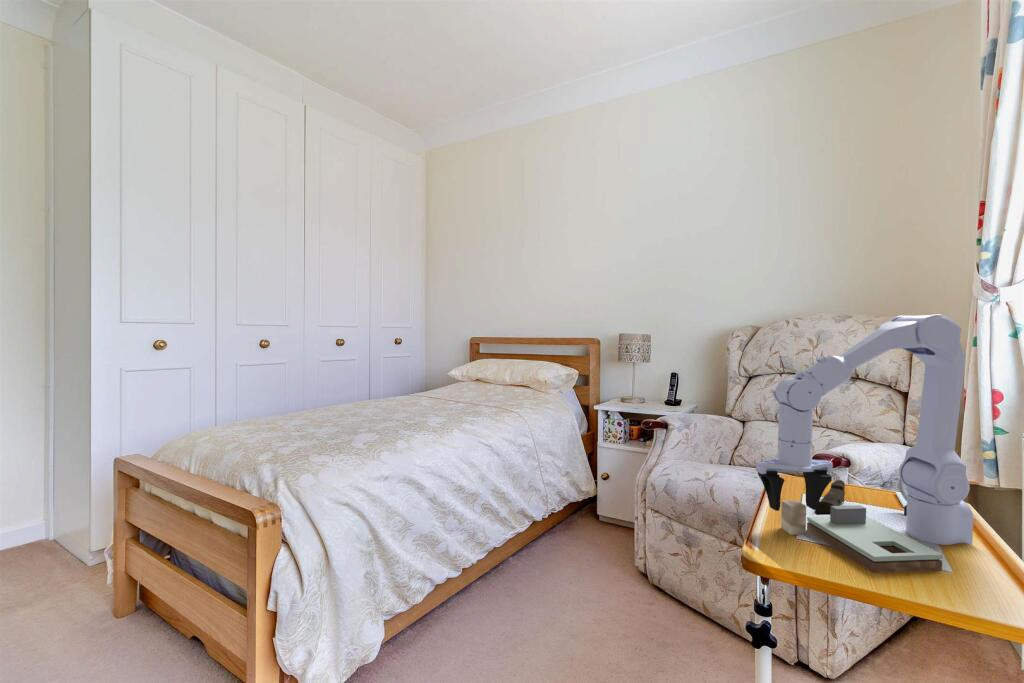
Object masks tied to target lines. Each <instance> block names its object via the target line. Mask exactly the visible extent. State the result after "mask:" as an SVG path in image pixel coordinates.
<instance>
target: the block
mask: <svg viewBox="0 0 1024 683" xmlns="http://www.w3.org/2000/svg"><path fill="white" fill-rule="evenodd" d="M780 509H781V511H780V512H781V514H780V529H782V530H783V531H784V532H786V533H788V534H789V535H790V536H794V535H806V533H807V506H806V504H803V503H801V502H800V501H798V500H796V499H795V500H794V499H793V500H781V506H780Z"/></svg>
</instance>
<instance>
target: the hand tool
mask: <svg viewBox="0 0 1024 683" xmlns="http://www.w3.org/2000/svg"><path fill="white" fill-rule="evenodd" d="M830 484H831V485H830V488H829V491H828V492H826V494H825V495H824V496H823V497H822V499H820V501H819V504H818V507H817V510H814V514H816V516H823V515H824V516H826V515H827V516H828V515H829V516H830V508H831V506H842V504H843V503H844V502H845V497H846V496H845V495H846V490H845V489H846V488H845V487H846V486H845V482H844V480H842V479H840V480H838V479H837V480H835V481H834V482H831V483H830ZM842 502H843V503H842Z"/></svg>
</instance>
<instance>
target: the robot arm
mask: <svg viewBox="0 0 1024 683" xmlns="http://www.w3.org/2000/svg"><path fill="white" fill-rule="evenodd" d="M961 333H962V328H961V326H959V325H958V324H957V323H956V322H955V321H954V320H952V319H951V318H950V317H948V316H946V315H943V314H931V315H907V314H905V315H904V314H902V315H898V316H895V317H893V318H892V319H891V320H889V321H886V322H884V323H882V324H880V326H879V327H878V328H877V329H876V330H874V332H872V333H871V334H869V335H868V336H866V337H864V338H863V339H862V340H860V341H858V342H857V343H856V344H854V345H853V346H852V347H851V348H848V349H847V350H846V351H844V352H842V354H840V355H838V356H837V355H833V354H832V355H831V354H829V355H826V356H823V355H820V356H819V357H817V358H816V362H815V363H814V364H812V365H810V366H809V367H807V368H805V369H804V370H802V371H801V370H798V371H796V372H795V376H794V377H787V378H784V379H782V380H780V381H779V382H778V383H777V386H776V388H775V390H773V392H772V393H773V397H774V399H775V401H776V402H777V403H778V428H777V429H778V431H777V432H778V433H777V436H778V437H777V438H778V439H777V458H774V459H767V460H759V461H758V460H756V461H755V472H757V475H758V477H759V479H760V480H761V482H762V485H763V487H764V489H765V493H766V495H767V496H766V497H767V500H768V505H769V508H770V509H772V510H773V511H777V512H779V511H780V509H781V495H782V488H783V485H784V483H785V478H783V477H781V476H780V474H778V473H803V474H802V475H803V478H804V485H805V503H806V504H805V506H806V507H808V508H810V509H811V510H812V511H815V510H817V507H818V504H819V501H821V497H822V496H823V494H824V492H825V490H826V488H827V487H828V486H829V484H831V483H832V480H833V478H832V477H833V476H832V474H829V473H833V472H834V469H833V467H834V464H833V462H831V461H829V460H827V459H813V457H812V455H813V453H812V452H813V417H814V409H815V408H816V407H817V406H819V404H820V402H821V399H822V398H823V396H825V395H827V394H828V393H830V392H832V391H834V390H835V389H837V388H839V387H840V386H842V385H843V384H845V383H846V382H849V381H850V380H851V378H852V373H853V371H854V370H855V369H857V368H859V367H861V366H863V365H864V364H866V363H869V362H870V361H872V360H874V359H875V358H878V357H879V356H881V355H884V354H885V353H887V352H888V351H891V350H894V349H895V350H896V349H897V350H898V349H902V350H905V351H907V352H909V353H911V354H912V355H914V356H915V357H916V358H917V359H918V360H919V361H920V362H922V363H923V364H924V373H923V374H924V376H923V386H922V391H921V402H920V410H919V419H918V420H919V421H918V427H917V428H918V429H917V435H916V443H915V445H913V446H911V447H910V448H908V449H907V450H906V451H905V457H904V460H903V461H902V462H901V464H900V465H899V468H898V476H899V477H900V479H901V481H902V482H903V483H904V484H905V486H906V491H907V493H908V494H907V501H906V505H907V516H906V517H905V518H906V520H905V521H906V525H905V531H906V533H907V534H908V535H909V536H910V537H913V538H915V539H917V540H921V541H923V542H926V543H932V544H934V545H935V544H936V545H943V546H945V545H946V546H948V545H955V544H964V543H965V544H968V545H970V546H973V539H974V538H973V533H974V531H973V530H974V515H973V511H972V509H971V508H970V506H969V504H967V503H966V501H964V500H965V499H966V498H967V497H968V494H969V493H970V490H971V489H970V487H971V486H970V482H969V480H968V476H967V465H966V463H965V462H964V461H963V459H962V458H961V457H960V456H959V455H958V454H957V452H956V451H955V450H956V440H957V435H958V433H957V432H958V424H959V418H960V410H961V409H960V408H961V399H962V391H963V383H964V373H965V365H966V355H965V351H964V349H963V347H962V344H961V341H960V340H961ZM899 477H898V478H899Z"/></svg>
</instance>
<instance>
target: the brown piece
mask: <svg viewBox="0 0 1024 683" xmlns="http://www.w3.org/2000/svg"><path fill="white" fill-rule="evenodd" d="M807 531H808V532H809V533H811V534H812V535H814V536H815V537H817V538H819V539H820V540H821V541H823V542H825V543H827V544H828V545H830V546H831V547H833V548H834V549H836V550H838V551H839V552H840V553H842V554H844V555H845V556H847V557H848V558H850V559H852V560H853V561H854V562H856V563H858V564H859V565H861V566H862V567H864V568H866V569H867V570H869V571H871V572H872V573H897V572H899V573H900V572H901V573H902V572H923V571H924V572H927V571H943V559H933V560H903V561H872V560H871V559H869V558H867V557H866V556H864V555H863V554H861V553H859V552H858V551H856V550H854V549H853V548H851V547H849V546H848V545H846V544H844V543H843V542H841V541H839V540H838V539H836V538H834V537H833V536H831V535H830V534H828V533H826V532H825V531H823V530H821V529H820V528H818V527H816V526H815V525H813V524H811V523H810V522H808V521H806V532H807ZM880 547H881V548H883V549H885V550H887V551H889V552H890V553H907V552H905V551H903V550H901V549H899V548H897V547H895V546H880Z"/></svg>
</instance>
